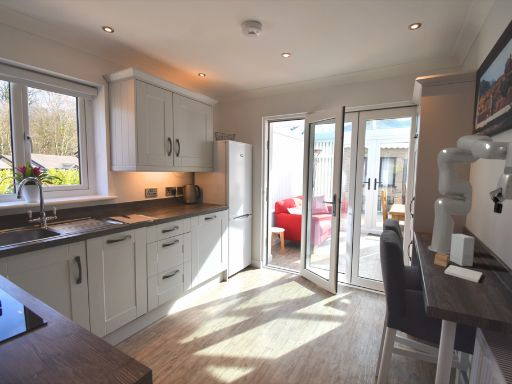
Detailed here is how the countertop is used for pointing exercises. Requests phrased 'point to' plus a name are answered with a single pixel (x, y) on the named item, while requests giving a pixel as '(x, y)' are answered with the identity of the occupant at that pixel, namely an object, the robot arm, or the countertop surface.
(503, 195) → the robot arm
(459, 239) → the skincare box
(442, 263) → the wooden cube
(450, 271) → the chopping board
